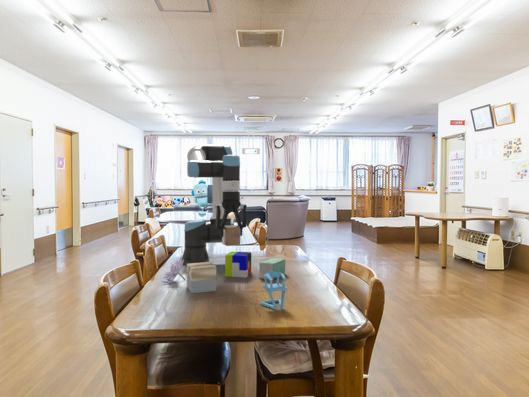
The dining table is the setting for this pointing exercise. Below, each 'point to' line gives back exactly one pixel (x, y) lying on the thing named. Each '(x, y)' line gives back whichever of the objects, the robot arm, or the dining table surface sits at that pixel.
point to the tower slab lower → (201, 285)
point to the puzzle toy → (238, 264)
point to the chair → (274, 289)
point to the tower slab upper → (201, 271)
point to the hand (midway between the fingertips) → (231, 243)
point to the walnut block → (232, 235)
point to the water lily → (174, 271)
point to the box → (271, 267)
